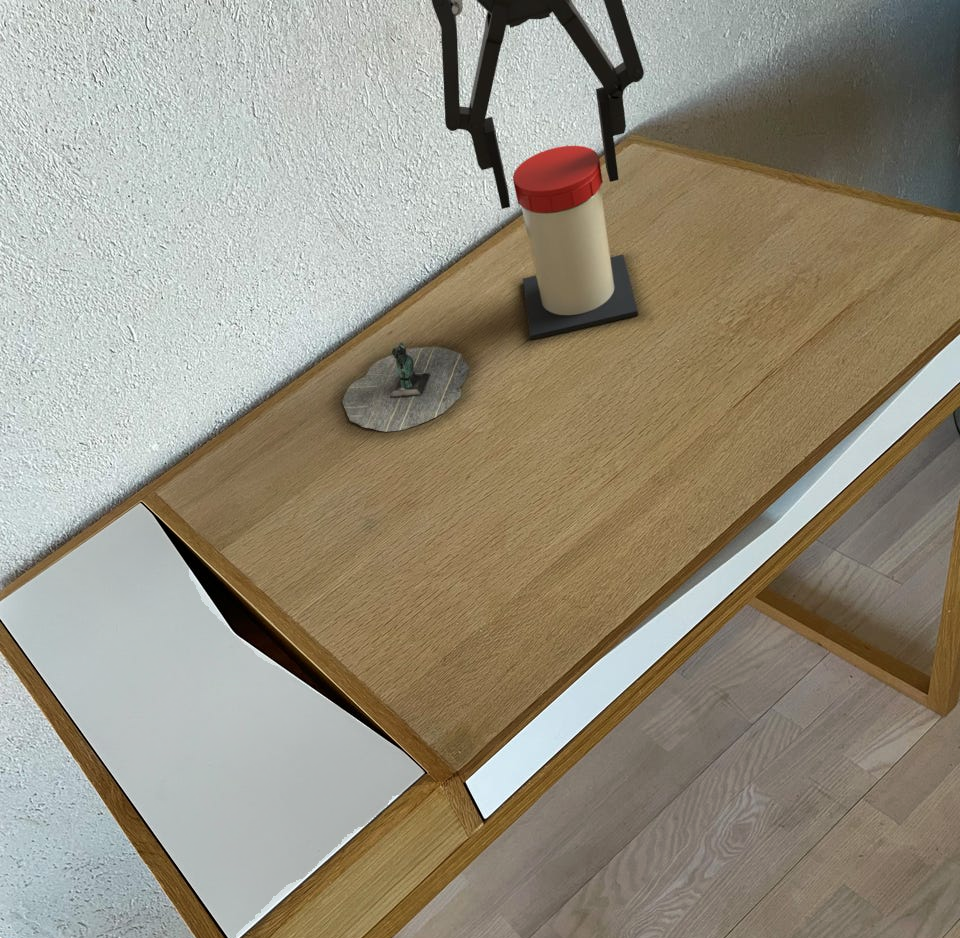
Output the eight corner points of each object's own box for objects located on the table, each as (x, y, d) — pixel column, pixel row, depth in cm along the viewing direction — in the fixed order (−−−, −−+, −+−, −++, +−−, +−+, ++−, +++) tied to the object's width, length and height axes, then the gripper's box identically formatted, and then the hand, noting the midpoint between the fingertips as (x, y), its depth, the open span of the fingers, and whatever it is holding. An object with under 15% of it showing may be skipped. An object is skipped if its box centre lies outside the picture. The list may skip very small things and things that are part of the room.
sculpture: (448, 335, 93) (451, 304, 85) (480, 423, 93) (487, 400, 85) (331, 375, 92) (323, 347, 84) (364, 464, 92) (359, 445, 84)
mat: (623, 258, 93) (623, 254, 93) (638, 315, 87) (637, 310, 86) (523, 282, 95) (522, 278, 94) (530, 340, 88) (529, 335, 88)
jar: (609, 265, 92) (592, 146, 83) (619, 305, 87) (602, 183, 79) (538, 282, 93) (514, 166, 84) (544, 322, 89) (519, 204, 80)
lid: (597, 158, 84) (593, 137, 83) (607, 199, 80) (604, 176, 78) (514, 180, 85) (510, 159, 84) (520, 221, 81) (515, 199, 79)
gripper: (651, -193, 66) (675, 136, 83) (356, -102, 69) (438, 196, 86) (669, -167, 61) (690, 176, 78) (351, -70, 65) (439, 238, 82)
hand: (558, 187), depth 82 cm, fingers open, 9 cm apart
